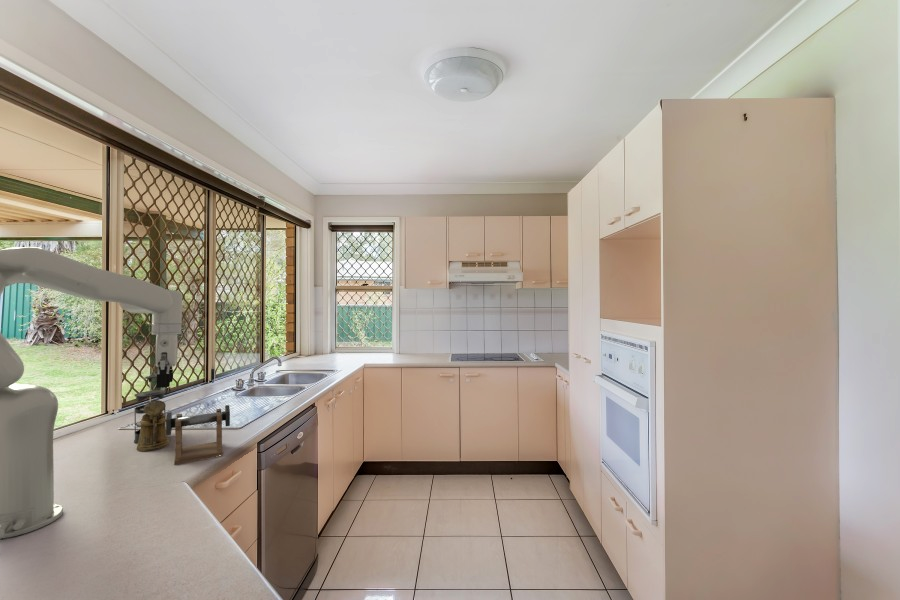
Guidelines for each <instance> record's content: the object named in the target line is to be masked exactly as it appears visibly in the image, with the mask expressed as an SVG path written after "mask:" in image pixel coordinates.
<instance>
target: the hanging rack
mask: <svg viewBox="0 0 900 600" xmlns="http://www.w3.org/2000/svg"><path fill="white" fill-rule="evenodd" d="M217 412H222V408H216V410H215V413H217ZM179 417H183V413H177V414H176V418H179ZM215 423H216V426H215V429H216V438H215V439H216V441H213V442H212V441H211V442H206V443H201V444H195V445H189V446H183V427H181V419H176V420H175V428H174V429H175V430H174V431H175V433H174V435H175V436H174V438H175V439H174V443H175V444H174V445H175V446H174V447H175V449H174V451H175V455H174V461H173V463H174V466H175V465H176V466H177V465H181V464H185V463H192V462H191V461H193V462H197V461H196V460H198V461H201V459H203V460H208V458H209V459H213V458H212V457H214V458H217V457H216V456H219V455H224V451H223V421H222V413H219V414H217V422H215ZM219 457H220V456H219Z"/></svg>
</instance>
